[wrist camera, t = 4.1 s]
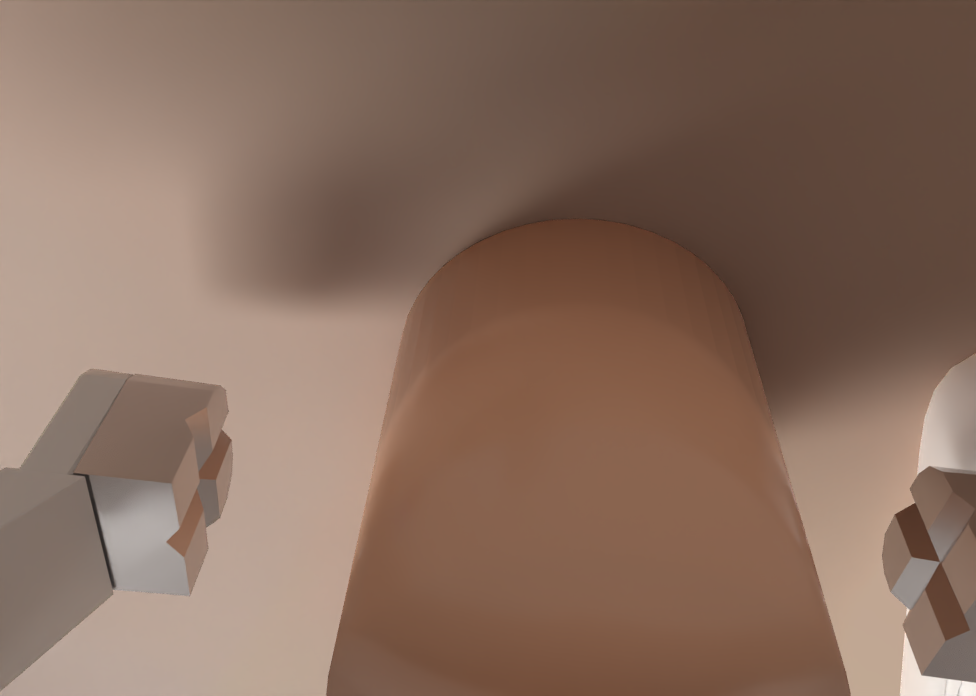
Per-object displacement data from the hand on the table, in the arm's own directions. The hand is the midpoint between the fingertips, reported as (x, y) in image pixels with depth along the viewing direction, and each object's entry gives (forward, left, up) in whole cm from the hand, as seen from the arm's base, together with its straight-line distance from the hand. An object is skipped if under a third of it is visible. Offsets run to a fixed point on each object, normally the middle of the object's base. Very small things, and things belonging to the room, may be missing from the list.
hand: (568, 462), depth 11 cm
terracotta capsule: (0, 0, -2) cm, 2 cm away
